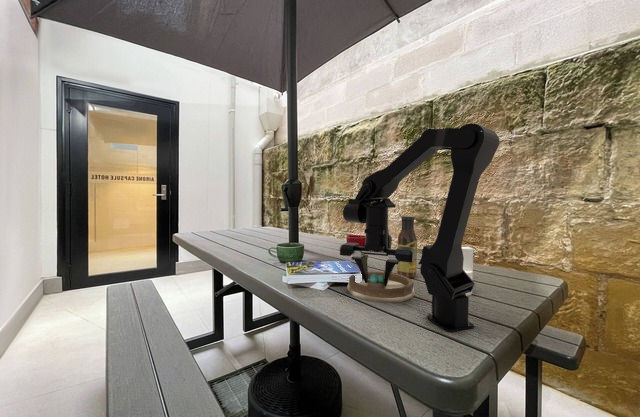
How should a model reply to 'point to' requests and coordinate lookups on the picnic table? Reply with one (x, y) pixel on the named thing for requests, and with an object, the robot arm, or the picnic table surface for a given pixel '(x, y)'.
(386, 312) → the picnic table surface
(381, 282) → the toy potted plant
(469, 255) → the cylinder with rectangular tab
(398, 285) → the ring tray
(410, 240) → the sauce bottle
